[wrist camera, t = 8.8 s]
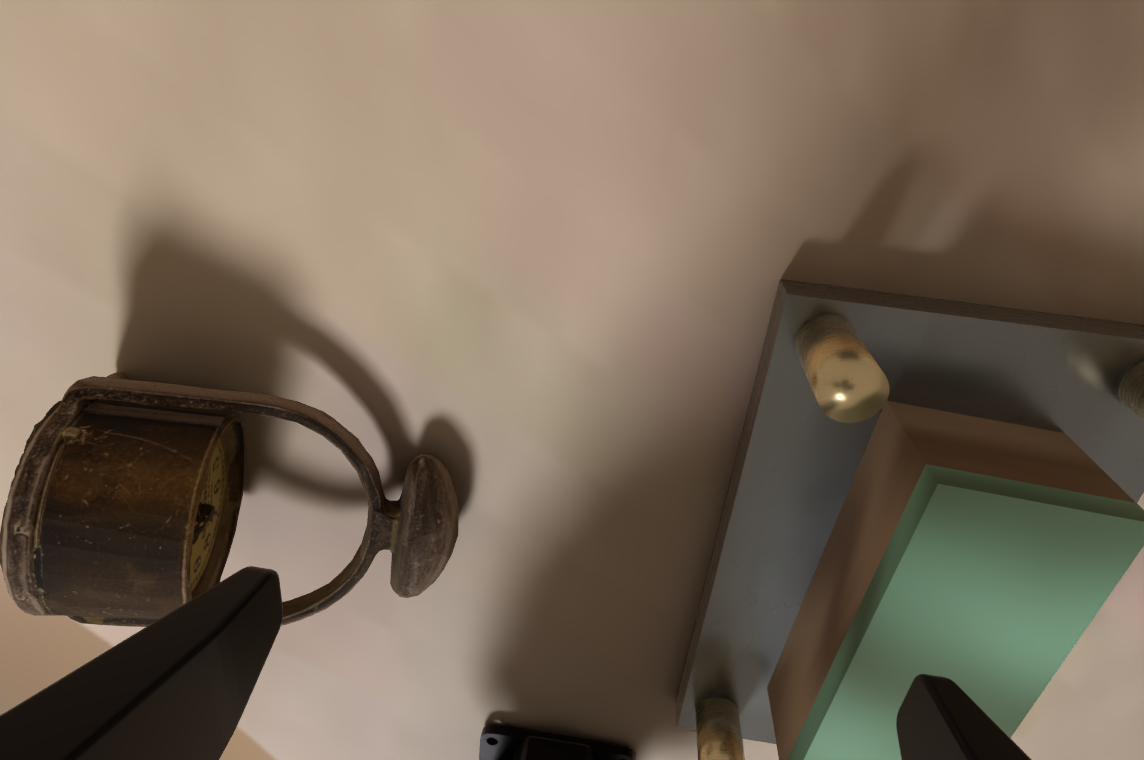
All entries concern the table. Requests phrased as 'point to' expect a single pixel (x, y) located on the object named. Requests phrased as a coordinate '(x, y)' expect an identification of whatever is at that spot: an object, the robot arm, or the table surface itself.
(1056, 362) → the plate
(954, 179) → the table surface
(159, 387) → the bronze antique clock
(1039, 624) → the board block
